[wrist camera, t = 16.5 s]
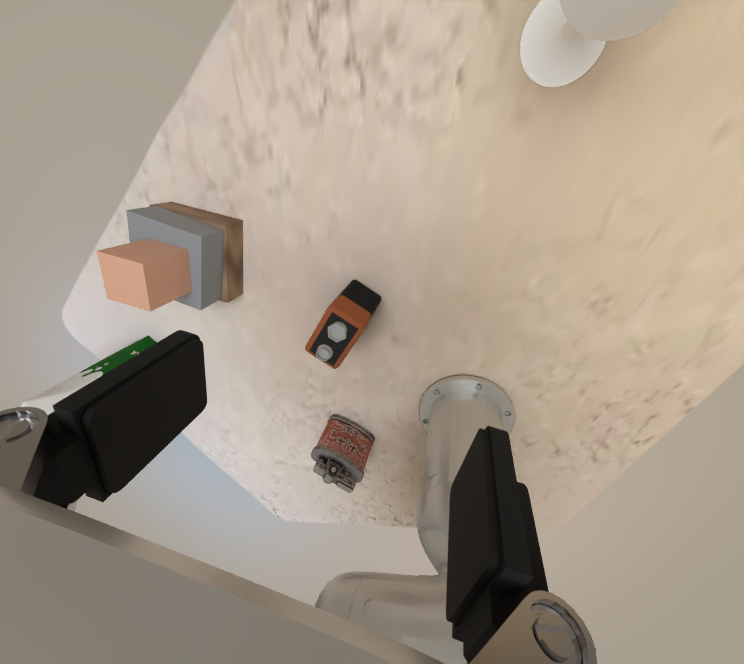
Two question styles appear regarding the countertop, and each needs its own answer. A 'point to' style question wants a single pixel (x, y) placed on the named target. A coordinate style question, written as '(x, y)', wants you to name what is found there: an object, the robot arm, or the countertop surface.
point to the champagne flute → (581, 34)
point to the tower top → (190, 235)
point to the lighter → (342, 452)
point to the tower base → (232, 245)
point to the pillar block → (145, 273)
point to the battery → (343, 324)
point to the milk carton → (86, 376)
